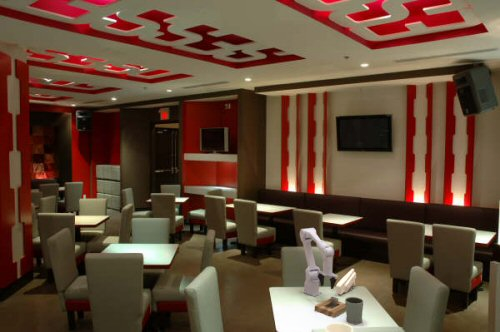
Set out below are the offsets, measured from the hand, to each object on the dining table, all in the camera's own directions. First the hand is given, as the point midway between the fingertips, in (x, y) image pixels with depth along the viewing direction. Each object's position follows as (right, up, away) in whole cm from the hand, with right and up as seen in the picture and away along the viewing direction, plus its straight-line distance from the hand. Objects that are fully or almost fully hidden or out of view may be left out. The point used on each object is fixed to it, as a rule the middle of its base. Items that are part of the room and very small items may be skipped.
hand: (327, 287), depth 263 cm
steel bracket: (+1, -10, -11) cm, 15 cm away
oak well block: (+1, -11, -11) cm, 16 cm away
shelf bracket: (+18, -9, +22) cm, 29 cm away
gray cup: (+11, -12, -25) cm, 30 cm away
